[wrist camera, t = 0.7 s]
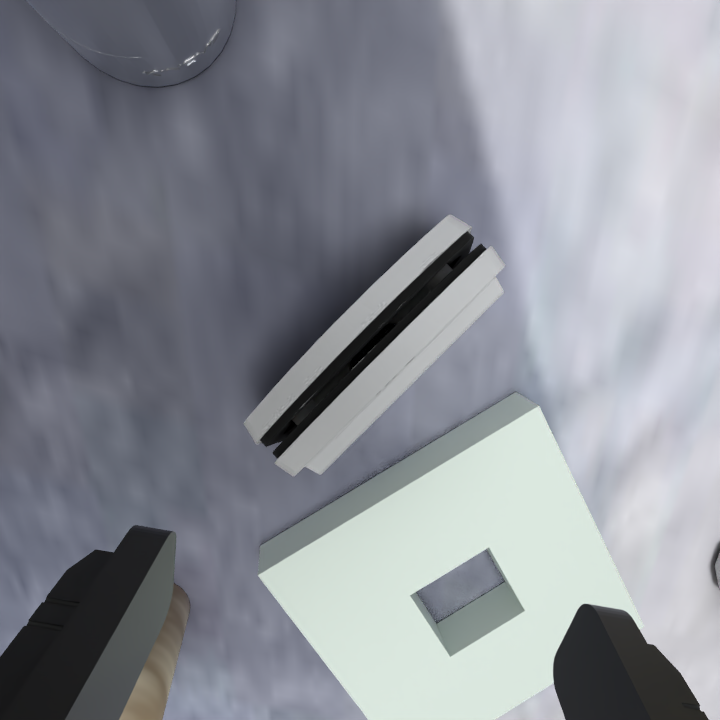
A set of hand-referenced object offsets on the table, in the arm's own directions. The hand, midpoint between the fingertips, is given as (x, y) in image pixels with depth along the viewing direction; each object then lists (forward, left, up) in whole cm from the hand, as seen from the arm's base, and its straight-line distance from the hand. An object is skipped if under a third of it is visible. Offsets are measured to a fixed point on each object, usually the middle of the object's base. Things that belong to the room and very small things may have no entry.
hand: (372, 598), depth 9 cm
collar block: (+19, +1, -21) cm, 28 cm away
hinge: (+1, +4, -21) cm, 22 cm away
